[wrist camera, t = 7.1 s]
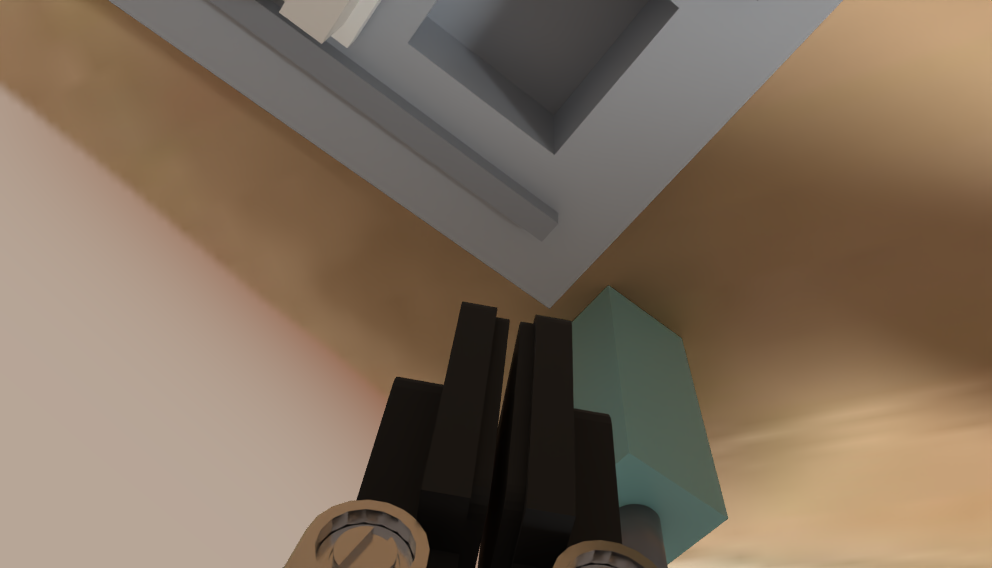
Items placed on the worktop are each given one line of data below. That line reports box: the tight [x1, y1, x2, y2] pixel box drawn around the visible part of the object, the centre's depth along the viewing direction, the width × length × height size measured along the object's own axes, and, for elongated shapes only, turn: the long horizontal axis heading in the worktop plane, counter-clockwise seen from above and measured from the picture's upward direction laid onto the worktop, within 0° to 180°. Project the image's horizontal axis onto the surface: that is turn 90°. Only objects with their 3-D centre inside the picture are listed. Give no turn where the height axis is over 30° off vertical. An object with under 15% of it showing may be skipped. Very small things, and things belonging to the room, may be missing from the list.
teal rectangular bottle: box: [572, 285, 728, 568], centre depth 28 cm, size 4×4×12 cm
